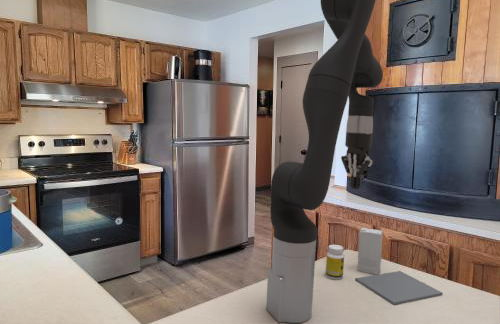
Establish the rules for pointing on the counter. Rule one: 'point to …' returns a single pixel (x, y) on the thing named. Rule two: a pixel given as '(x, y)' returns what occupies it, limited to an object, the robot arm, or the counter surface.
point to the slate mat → (398, 287)
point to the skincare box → (370, 250)
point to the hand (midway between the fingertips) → (354, 188)
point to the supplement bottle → (335, 262)
